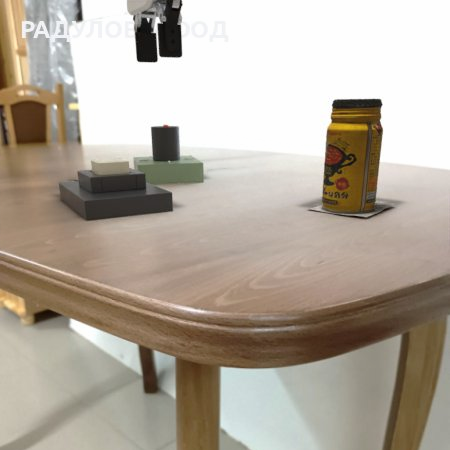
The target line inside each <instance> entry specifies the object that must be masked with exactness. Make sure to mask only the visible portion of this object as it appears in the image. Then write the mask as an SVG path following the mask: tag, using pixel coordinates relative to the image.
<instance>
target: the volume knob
mask: <svg viewBox="0 0 450 450" xmlns="http://www.w3.org/2000/svg"><path fill="white" fill-rule="evenodd" d="M150 133H151V135H150V136H151V150H152V151H151V152H152V153H151V154H152V157H153V160H155V161H175V160H180V156H181V147H180V145H181V144H180V143H181V141H180V126H178V125H169V124H163V125H155V126H150Z"/></svg>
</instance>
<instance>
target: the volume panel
mask: <svg viewBox="0 0 450 450" xmlns="http://www.w3.org/2000/svg"><path fill="white" fill-rule="evenodd" d="M132 158H133V169H134V170H137V171H140V172H142V173H145V176H146V182H147V183H150V184H152V185H172V184H196V183H198V184H199V183H204V182H205V179H204V176H205V175H204V162H203V161H201V160H199V159H198V158H196V157H195V156H193V155H192V154H191V155H180V160H175V161H155V160H153V156H133V157H132Z"/></svg>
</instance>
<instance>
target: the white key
mask: <svg viewBox="0 0 450 450" xmlns="http://www.w3.org/2000/svg"><path fill="white" fill-rule="evenodd" d="M90 165H91V170H92V173H94V174H96V175H98V176H99V175H110V174H124V173H130V171H129V168H130V161H129V160H127V159H124V158H120V157H119V158H118V157H117V158H101V159H100V158H99V159H98V158H97V159H91V160H90Z"/></svg>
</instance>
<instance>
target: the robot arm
mask: <svg viewBox="0 0 450 450" xmlns="http://www.w3.org/2000/svg"><path fill="white" fill-rule="evenodd" d="M182 7H183V0H126V10H127V12H128V14H129V15H130V16H132V20H133V22H134V23H133V32H134V40H135V41H134V42H135V43H134V44H135V55H136V61H137V62H138V63H157V62H158V61H159V58H158V57H160V58H170V59H171V58H172V59H173V58H174V59H179V58H182V57H183V37H182V22H183V15H182V12H181V11H182ZM157 18H158V19H159V22H158V23H156V20H157ZM156 24H157V25H156ZM156 26H157V32H155V27H156Z"/></svg>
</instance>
